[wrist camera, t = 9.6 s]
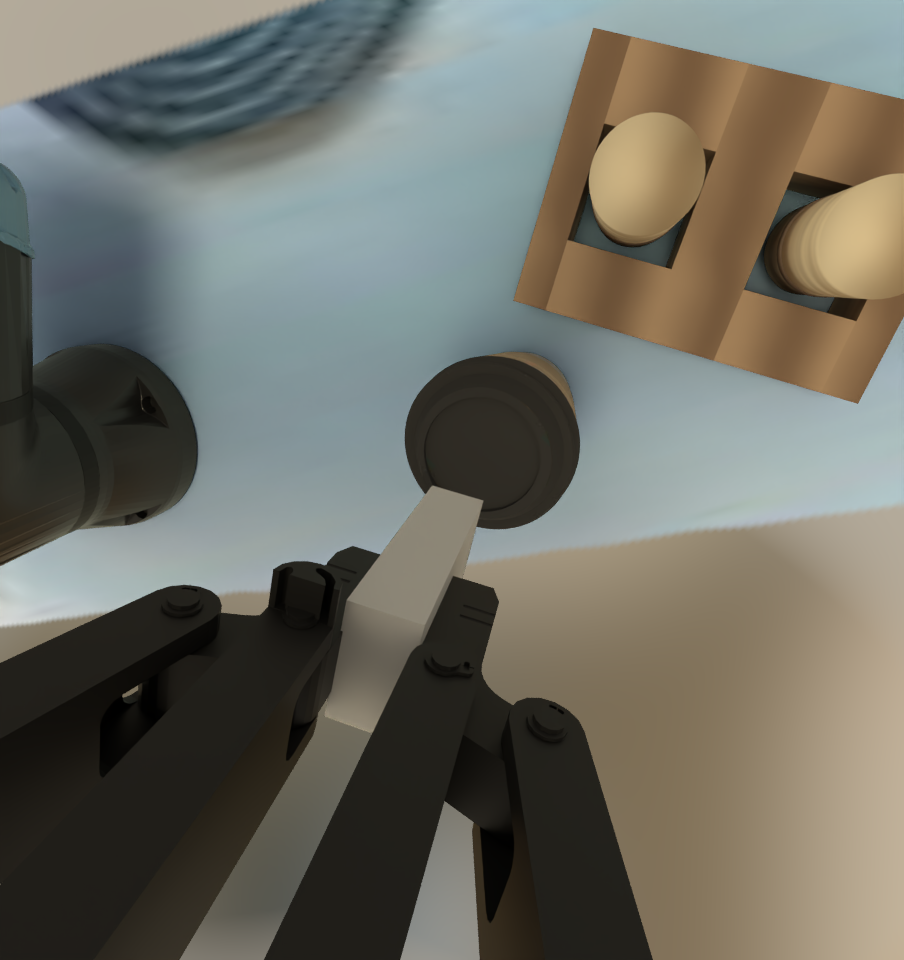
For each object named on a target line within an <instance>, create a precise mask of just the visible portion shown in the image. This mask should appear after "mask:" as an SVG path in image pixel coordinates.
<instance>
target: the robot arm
mask: <svg viewBox="0 0 904 960" xmlns="http://www.w3.org/2000/svg"><path fill="white" fill-rule="evenodd" d="M32 259H35V253H34V250H33V249H32V247H31V246H30V240H29V227H28V214H27V201H26V194H25V191H24V189H23V187H22V185H21V183H20V181H19V180H18V178H17V177H16V176H15V175H14V173H13V172H12V171H11V170H10V169H8V168H7V167H6V166H5V165H3V164H2V163H0V566H2V565H4V564H6V563H8V562H10V561H12V560H14V559H16V558H18V557H20V556H22V555H25V554H27V553H29V552H31V551H33V550H35V549H37V548H39V547H41V546H43V545H45V544H47V543H49V542H52V541H54V540H56V539H58V538H60V537H62V536H64V535H66V534H68V533H70V532H73V531H75V530H78V529H90V528H101V527H113V526H125V525H132V524H137V523H140V522H143V521H146V520H148V519H151V518H153V517H155V516H157V515H159V514H160V513H162V512H164V511H166V510H168V509H170V508H171V507H172V506H174V505H175V504H176V503H177V502H178V501H179V500H180V499H181V498H182V497H183V495H184V494H185V493H186V491H187V489H188V488H189V486H190V483H191V481H192V478H193V475H194V471H195V467H196V458H197V446H196V437H195V431H194V427H193V423H192V420H191V417H190V415H189V412H188V410H187V407H186V405H185V403H184V401H183V399H182V398H181V396H180V394H179V393H178V391H177V390H176V388H175V387H174V385H173V384H172V383H171V382H170V380H169V379H168V378H167V377H166V376H165V375H164V374H163V373H162V372H161V371H160V370H159V369H158V368H157V367H156V366H155V365H154V364H152V363H151V362H150V361H148V360H147V359H145V358H144V357H142V356H141V355H139V354H137V353H135V352H133V351H131V350H129V349H126V348H123V347H120V346H116V345H110V344H92V345H84V346H76V347H70V348H66V349H63V350H60V351H58V352H56V353H53V354H52V355H50V356H48V357H47V358H46V359H44V360H43V361H41V362H39V363H38V364H36V365H34V366H33V345H32ZM482 504H483V500H480V499H476V498H473V497H469V496H466V495H463V494H459V493H456V492H452V491H449V490H446V489H442V488H439V487H435V486H432V487H431V488H430V489H429V491H428V492H427V493H426V495H425V496H424V497H423V499H422V500H421V501H420V503H419V504H418V505H417V507H416V508H415V509H414V511H413V512H412V513H411V515H410V516H409V517H408V519H407V520H406V521H405V523H404V524H403V525H402V527H401V528H400V529H399V531H398V532H397V533H396V535H395V536H394V537H393V539H392V540H391V541H390V543H389V544H388V545H387V547H386V548H385V549H384V551H383V552H382V553H381V555H380V554H377V553H374V552H370V551H367V550H364V549H361V548H358V547H354V546H352V547H349V548H347V549H344V550H342V551H339V552H337V553H336V554H335V555H334V556H333V557H332V558H331V559H330V560H329V561H328V563H327V565H325V566H324V565H322V564H318V563H313V562H308V561H294V562H290V563H285V564H282V565H280V566H278V567H277V568H275V569H273V576H272V583H271V591H270V598H269V605H268V608H266V609H265V611H264V612H263V613H262V614H261V615H257V616H251V615H237V614H228V613H221V607H222V605H221V602H220V599H219V597H218V596H217V595H215V594H214V593H213V592H212V591H210V590H207V589H204V588H202V587H198V586H191V585H179V586H170V587H166V588H163V589H160V590H157V591H155V592H153V593H150V594H148V595H146V596H144V597H142V598H140V599H137V600H135V601H133V602H131V603H129V604H127V605H125V606H122V607H120V608H118V609H116V610H114V611H112V612H109V613H107V614H105V615H103V616H101V617H99V618H96V619H94V620H92V621H90V622H88V623H86V624H84V625H81V626H79V627H77V628H75V629H73V630H71V631H68V632H66V633H64V634H62V635H60V636H58V637H55V638H53V639H51V640H49V641H47V642H45V643H42V644H40V645H38V646H36V647H34V648H32V649H30V650H27V651H25V652H23V653H21V654H19V655H17V656H15V657H12V658H10V659H8V660H6V661H4V662H1V663H0V960H179V959H180V958H181V956H182V954H183V953H184V951H185V949H186V948H187V946H188V944H189V943H190V941H191V939H192V938H193V936H194V934H195V933H196V930H197V929H198V927H199V926H200V924H201V922H202V921H203V919H204V917H205V916H206V914H207V912H208V911H209V909H210V907H211V906H212V904H213V902H214V901H215V899H216V897H217V896H218V894H219V892H220V891H221V889H222V887H223V885H224V884H225V882H226V880H227V879H228V877H229V875H230V874H231V872H232V870H233V869H234V867H235V865H236V864H237V862H238V860H239V859H240V857H241V855H242V854H243V852H244V850H245V849H246V847H247V845H248V844H249V842H250V840H251V839H252V837H253V835H254V834H255V832H256V830H257V828H258V827H259V825H260V823H261V822H262V820H263V818H264V817H265V815H266V813H267V811H268V810H269V808H270V806H271V805H272V803H273V802H274V800H275V798H276V797H277V795H278V793H279V791H280V790H281V788H282V787H283V785H284V783H285V782H286V780H287V778H288V776H289V775H290V773H291V771H292V770H293V768H294V766H295V765H296V763H297V761H298V759H299V758H300V756H301V755H302V753H303V751H304V750H305V748H306V746H307V745H308V743H309V741H310V740H311V738H312V736H313V734H314V730H315V727H316V722H317V717H318V712H319V711H320V709H321V707H322V706H323V704H324V702H325V701H326V699H327V698H328V699H327V705H326V710H325V715H324V716H325V717H327V718H330V719H333V720H336V721H339V722H342V723H345V724H347V725H350V726H353V727H356V728H359V729H362V730H364V731H368V732H370V733H372V735H371V737H370V739H369V741H368V743H367V745H366V747H365V749H364V752H363V754H362V756H361V758H360V760H359V762H358V764H357V766H356V768H355V770H354V772H353V775H352V777H351V779H350V781H349V783H348V785H347V787H346V789H345V791H344V793H343V796H342V798H341V800H340V802H339V804H338V806H337V808H336V810H335V812H334V815H333V816H332V819H331V821H330V823H329V825H328V827H327V829H326V831H325V833H324V835H323V837H322V840H321V841H320V844H319V846H318V848H317V850H316V852H315V854H314V856H313V858H312V861H311V863H310V865H309V867H308V869H307V871H306V873H305V875H304V877H303V879H302V881H301V884H300V885H299V888H298V890H297V892H296V894H295V896H294V898H293V900H292V902H291V904H290V906H289V908H288V911H287V913H286V915H285V917H284V919H283V921H282V923H281V925H280V927H279V930H278V931H277V934H276V936H275V938H274V940H273V942H272V944H271V946H270V948H269V950H268V953H267V954H266V957H265V959H264V960H400V958H401V955H402V951H403V948H404V944H405V940H406V937H407V933H408V930H409V926H410V923H411V919H412V915H413V912H414V908H415V905H416V901H417V897H418V894H419V890H420V887H421V883H422V879H423V876H424V872H425V868H426V865H427V861H428V857H429V854H430V851H431V847H432V844H433V840H434V836H435V832H436V829H437V826H438V822H439V818H440V815H441V811H442V807H443V804H444V801H445V802H447V803H448V804H450V805H451V806H452V807H454V808H455V809H456V810H458V811H459V812H461V813H462V814H463V815H465V816H466V817H468V818H469V819H470V820H472V821H473V822H474V824H473V829H472V836H473V853H474V867H475V868H474V869H475V886H476V903H477V920H478V937H479V953H480V960H653V959H652V955H651V952H650V949H649V946H648V942H647V939H646V936H645V932H644V929H643V925H642V922H641V919H640V915H639V912H638V909H637V905H636V902H635V899H634V895H633V892H632V889H631V886H630V882H629V879H628V875H627V872H626V869H625V865H624V862H623V859H622V855H621V852H620V849H619V845H618V842H617V839H616V836H615V832H614V829H613V825H612V822H611V819H610V816H609V812H608V809H607V805H606V802H605V799H604V795H603V792H602V789H601V785H600V782H599V779H598V775H597V772H596V769H595V765H594V762H593V759H592V755H591V752H590V749H589V745H588V742H587V739H586V735H585V732H584V730H583V728H582V726H581V724H580V722H579V720H578V719H577V718H575V716H574V715H573V714H571V713H570V712H569V711H568V710H567V709H565V708H564V707H562V706H560V705H558V704H557V703H555V702H552V701H549V700H545V699H542V698H526V699H523V700H520V701H517V702H516V703H515V704H514V705H511V704H510V703H508V702H506V701H505V700H503V699H502V698H501V697H499V696H498V695H496V694H495V693H494V692H493V691H492V690H491V689H490V688H489V687H488V685H487V684H486V682H485V680H484V679H483V675H482V672H481V668H482V662H483V658H484V655H485V651H486V647H487V643H488V640H489V636H490V633H491V629H492V626H493V622H494V618H495V615H496V611H497V607H498V604H499V601H498V599H497V596H496V593H495V591H494V588H491V587H487V586H484V585H481V584H478V583H475V582H471V581H468V580H465V579H463V575H464V571H465V567H466V564H467V560H468V556H469V552H470V549H471V545H472V541H473V537H474V534H475V530H476V526H477V522H478V519H479V515H480V511H481V508H482ZM137 685H138V691H136V692H135V693H133V694H132V695H130V696H127V697H124V698H123V697H122V695H123V694H124V693H126V692H127V691H129V690H131V689H132V688H134V687H136V686H137Z"/></svg>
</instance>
